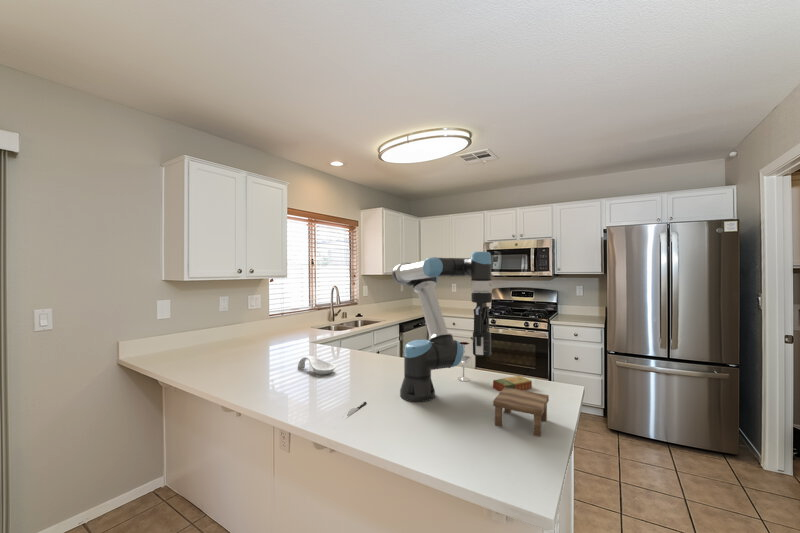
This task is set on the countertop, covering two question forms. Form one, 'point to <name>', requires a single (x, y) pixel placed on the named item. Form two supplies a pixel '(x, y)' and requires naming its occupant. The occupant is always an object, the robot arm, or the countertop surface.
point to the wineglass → (465, 358)
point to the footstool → (521, 405)
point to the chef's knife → (355, 409)
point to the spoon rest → (317, 365)
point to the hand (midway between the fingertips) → (482, 352)
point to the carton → (512, 383)
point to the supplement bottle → (484, 342)
